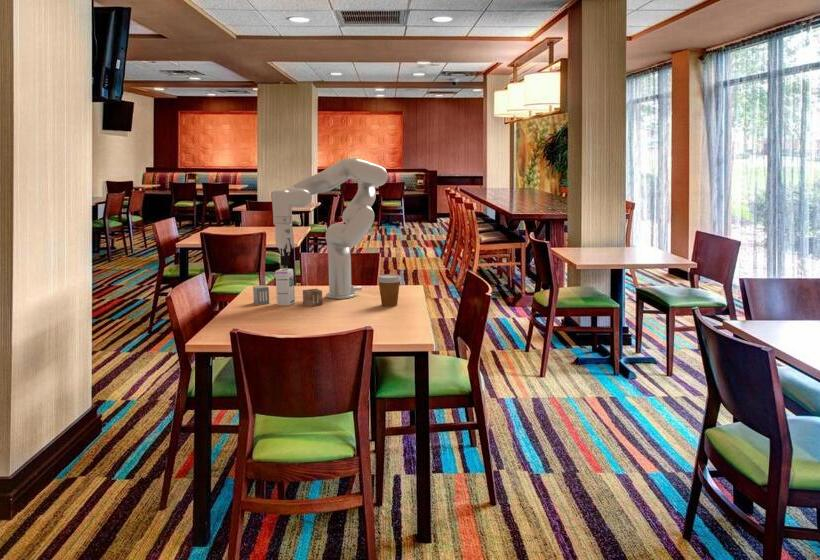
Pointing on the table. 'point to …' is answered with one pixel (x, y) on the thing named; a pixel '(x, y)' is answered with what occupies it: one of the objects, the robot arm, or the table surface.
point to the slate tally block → (261, 295)
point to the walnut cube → (312, 297)
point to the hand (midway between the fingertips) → (285, 265)
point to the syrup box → (285, 287)
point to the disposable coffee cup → (389, 289)
